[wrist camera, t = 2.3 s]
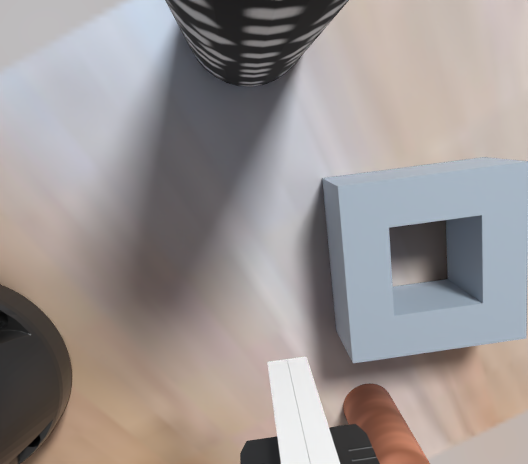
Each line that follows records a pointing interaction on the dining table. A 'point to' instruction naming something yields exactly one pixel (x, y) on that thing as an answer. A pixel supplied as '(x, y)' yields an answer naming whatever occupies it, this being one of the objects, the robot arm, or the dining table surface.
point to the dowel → (383, 425)
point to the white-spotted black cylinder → (251, 34)
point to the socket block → (458, 257)
